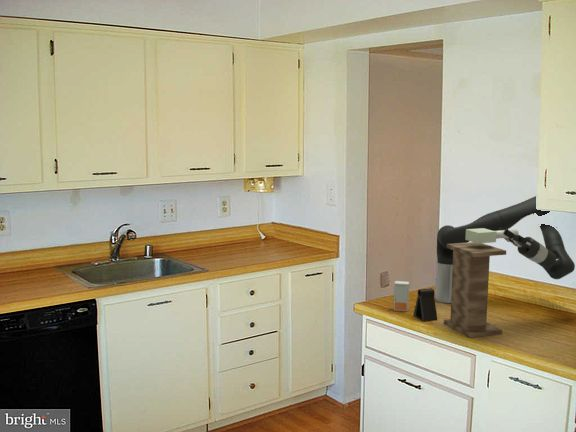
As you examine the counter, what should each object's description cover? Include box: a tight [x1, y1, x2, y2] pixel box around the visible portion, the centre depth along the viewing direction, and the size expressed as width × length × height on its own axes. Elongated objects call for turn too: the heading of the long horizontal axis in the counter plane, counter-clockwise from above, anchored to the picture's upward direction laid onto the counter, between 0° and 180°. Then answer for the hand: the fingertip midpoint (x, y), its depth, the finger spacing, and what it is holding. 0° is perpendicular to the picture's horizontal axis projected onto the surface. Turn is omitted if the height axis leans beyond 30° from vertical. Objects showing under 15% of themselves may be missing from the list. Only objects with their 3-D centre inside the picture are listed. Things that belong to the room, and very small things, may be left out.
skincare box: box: [392, 280, 410, 313], centre depth 288 cm, size 6×4×12 cm
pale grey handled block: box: [465, 228, 519, 244], centre depth 261 cm, size 8×20×4 cm, turn 109°
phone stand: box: [413, 288, 438, 322], centre depth 277 cm, size 9×6×12 cm, turn 17°
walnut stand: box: [443, 241, 507, 338], centre depth 262 cm, size 18×14×32 cm
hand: (502, 230), depth 262 cm, fingers closed on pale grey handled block, 3 cm apart
